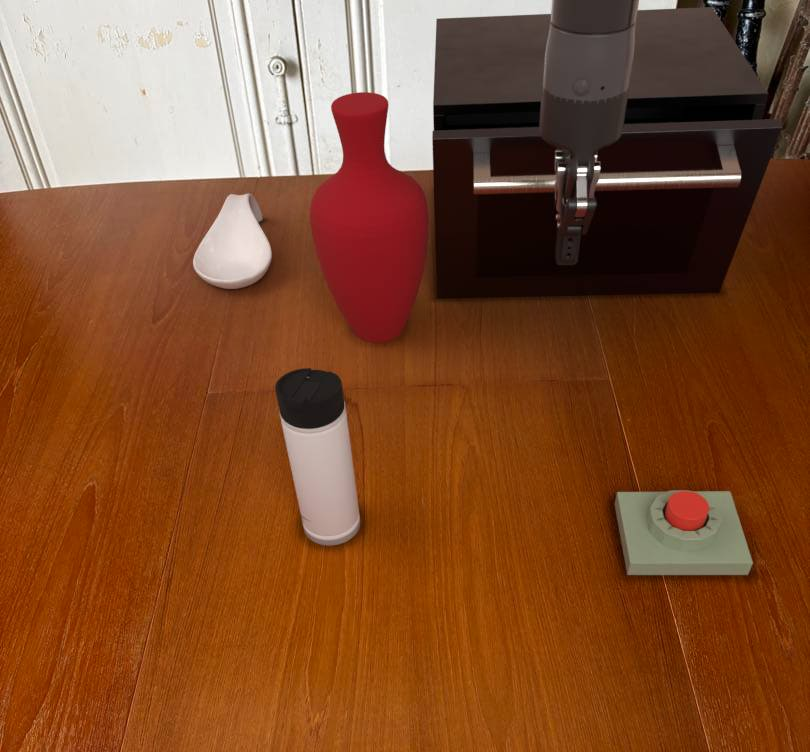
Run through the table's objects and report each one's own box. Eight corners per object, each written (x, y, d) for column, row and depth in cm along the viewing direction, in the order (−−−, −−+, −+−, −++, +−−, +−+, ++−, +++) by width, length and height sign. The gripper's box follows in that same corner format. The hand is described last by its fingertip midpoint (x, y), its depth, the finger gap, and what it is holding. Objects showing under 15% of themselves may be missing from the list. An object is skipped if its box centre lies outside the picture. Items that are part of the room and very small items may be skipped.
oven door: (725, 323, 113) (792, 158, 90) (436, 329, 115) (431, 170, 93) (717, 286, 116) (780, 118, 94) (437, 292, 118) (432, 130, 96)
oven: (716, 287, 116) (768, 93, 97) (437, 293, 119) (433, 105, 99) (675, 183, 137) (712, 6, 118) (439, 190, 140) (436, 18, 120)
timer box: (725, 505, 89) (734, 479, 86) (747, 576, 82) (758, 551, 79) (614, 505, 89) (619, 479, 86) (626, 576, 83) (633, 551, 80)
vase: (448, 312, 115) (446, 85, 93) (404, 372, 107) (390, 137, 84) (356, 292, 120) (332, 71, 97) (307, 348, 111) (269, 119, 89)
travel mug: (294, 543, 88) (260, 397, 73) (316, 500, 92) (289, 354, 77) (348, 554, 87) (325, 408, 72) (368, 511, 91) (351, 364, 76)
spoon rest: (273, 298, 120) (264, 253, 115) (194, 303, 120) (181, 258, 115) (282, 219, 136) (275, 176, 130) (212, 224, 136) (202, 181, 130)
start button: (701, 502, 84) (704, 490, 83) (709, 531, 82) (713, 519, 80) (661, 502, 84) (665, 490, 83) (668, 531, 82) (672, 519, 81)
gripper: (641, 108, 66) (610, 296, 79) (619, 51, 75) (595, 228, 88) (548, 111, 67) (533, 297, 80) (537, 54, 76) (525, 230, 89)
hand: (565, 261), depth 84 cm, fingers closed
